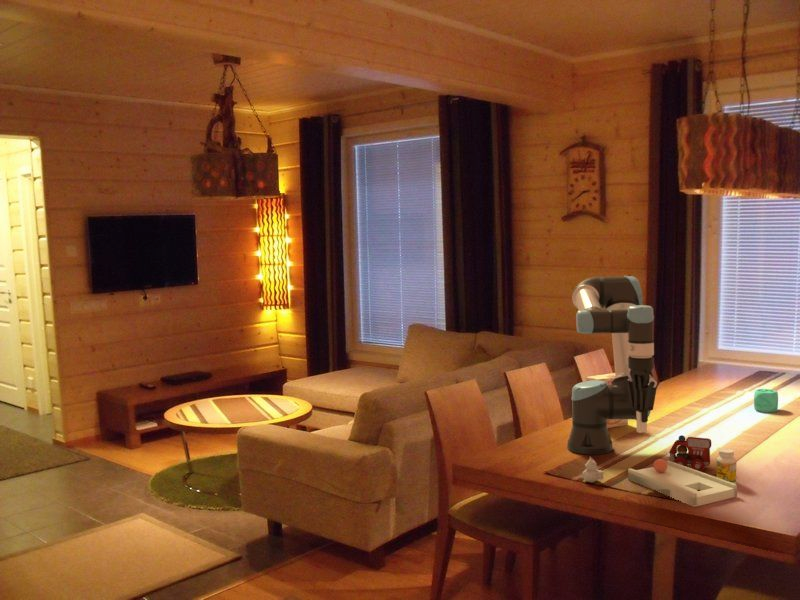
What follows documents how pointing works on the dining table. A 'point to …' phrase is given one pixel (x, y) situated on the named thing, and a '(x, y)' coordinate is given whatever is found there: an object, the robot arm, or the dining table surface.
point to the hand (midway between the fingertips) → (641, 431)
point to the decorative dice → (766, 400)
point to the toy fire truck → (691, 452)
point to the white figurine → (592, 472)
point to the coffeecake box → (608, 379)
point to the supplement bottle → (726, 465)
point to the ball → (660, 465)
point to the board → (684, 484)
